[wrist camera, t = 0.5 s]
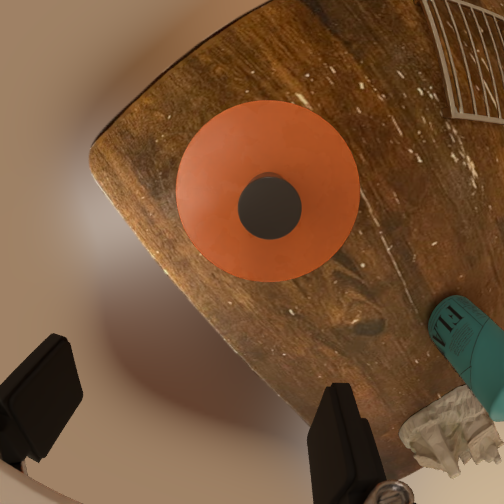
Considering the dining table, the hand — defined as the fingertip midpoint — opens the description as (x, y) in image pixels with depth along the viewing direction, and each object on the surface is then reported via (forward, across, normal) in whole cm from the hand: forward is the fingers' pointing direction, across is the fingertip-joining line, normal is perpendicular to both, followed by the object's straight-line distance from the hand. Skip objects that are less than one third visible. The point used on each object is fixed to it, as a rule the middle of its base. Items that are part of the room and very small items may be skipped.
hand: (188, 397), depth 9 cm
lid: (+13, -2, -6) cm, 15 cm away
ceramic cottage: (+20, -36, +25) cm, 48 cm away
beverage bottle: (+20, -24, +5) cm, 32 cm away
